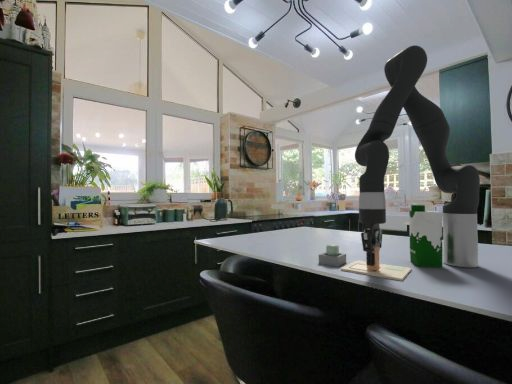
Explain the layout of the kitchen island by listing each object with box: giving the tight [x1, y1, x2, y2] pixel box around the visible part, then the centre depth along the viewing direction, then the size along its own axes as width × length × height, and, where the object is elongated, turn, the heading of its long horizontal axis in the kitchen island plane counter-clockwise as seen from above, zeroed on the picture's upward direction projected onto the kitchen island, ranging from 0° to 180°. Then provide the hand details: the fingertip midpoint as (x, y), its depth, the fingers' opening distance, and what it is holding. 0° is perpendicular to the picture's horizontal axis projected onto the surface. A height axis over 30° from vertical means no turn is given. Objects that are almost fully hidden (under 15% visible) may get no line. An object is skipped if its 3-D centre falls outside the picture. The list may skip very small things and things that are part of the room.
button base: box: [318, 251, 347, 267], centre depth 92 cm, size 7×7×3 cm
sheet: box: [340, 259, 413, 282], centre depth 83 cm, size 14×17×1 cm
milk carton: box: [408, 204, 443, 268], centre depth 90 cm, size 9×9×20 cm
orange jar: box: [365, 241, 380, 270], centre depth 81 cm, size 4×4×8 cm
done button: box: [325, 244, 340, 256], centre depth 93 cm, size 4×4×4 cm
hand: (372, 263), depth 81 cm, fingers closed on orange jar, 3 cm apart
